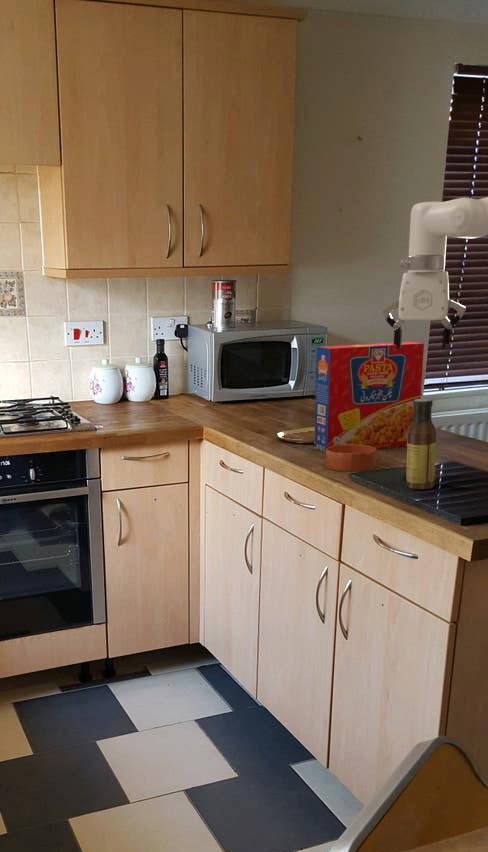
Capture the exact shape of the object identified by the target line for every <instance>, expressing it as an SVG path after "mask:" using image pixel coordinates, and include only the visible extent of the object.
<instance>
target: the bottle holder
mask: <svg viewBox="0 0 488 852" xmlns="http://www.w3.org/2000/svg"><path fill="white" fill-rule="evenodd" d="M377 453H378V449H376V448H375V447H372V446H367V445H356V444H345V445H334V446H329V447H327V448H326V450H325V453H324V466H325V467H324V468H326V469H329V470H331V471H336V472H337V471H338V472H365V471H366V472H367V471H371V470H374V469H375V468H377V458H378V457H377V455H378V454H377Z"/></svg>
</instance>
